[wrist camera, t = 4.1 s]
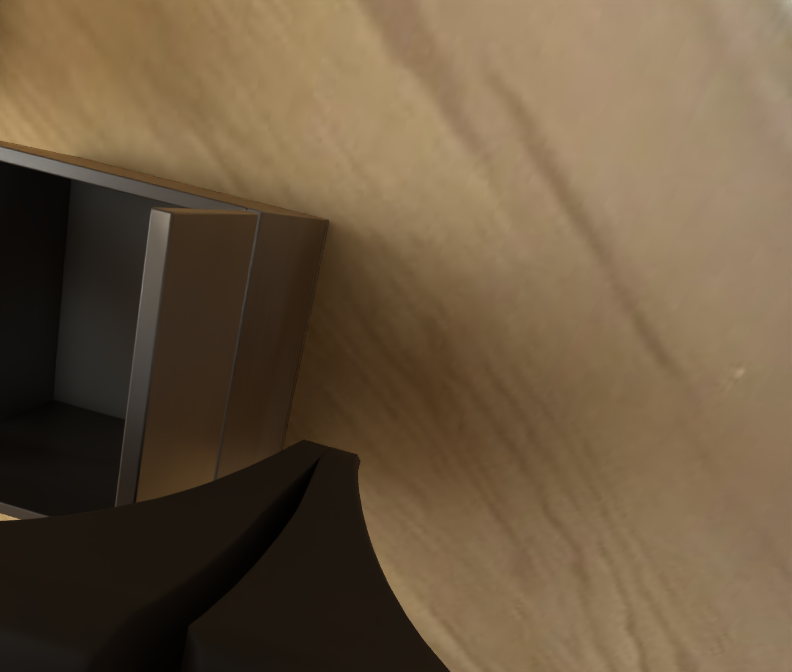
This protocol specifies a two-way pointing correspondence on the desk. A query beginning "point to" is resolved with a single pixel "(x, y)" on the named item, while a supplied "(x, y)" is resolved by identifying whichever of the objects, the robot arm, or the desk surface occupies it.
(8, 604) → the robot arm
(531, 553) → the desk surface
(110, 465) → the carton
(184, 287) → the flap
